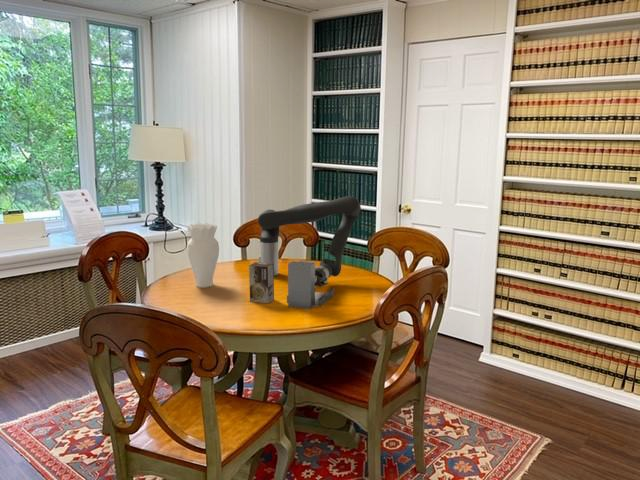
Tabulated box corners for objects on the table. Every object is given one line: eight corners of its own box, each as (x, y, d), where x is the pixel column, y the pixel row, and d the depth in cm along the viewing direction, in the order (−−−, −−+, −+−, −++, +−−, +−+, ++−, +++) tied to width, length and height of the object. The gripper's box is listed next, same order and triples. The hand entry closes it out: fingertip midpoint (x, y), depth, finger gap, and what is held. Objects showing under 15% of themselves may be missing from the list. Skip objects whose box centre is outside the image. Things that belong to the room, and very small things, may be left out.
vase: (219, 288, 249) (217, 227, 244) (187, 290, 247) (184, 227, 242) (220, 280, 263) (218, 222, 258) (189, 281, 261) (187, 222, 256)
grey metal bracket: (282, 305, 225) (282, 263, 221) (302, 291, 246) (302, 252, 243) (316, 310, 220) (317, 266, 216) (334, 294, 241) (334, 254, 238)
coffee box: (274, 299, 234) (274, 263, 231) (268, 303, 228) (268, 266, 225) (255, 297, 237) (255, 261, 234) (249, 301, 231) (248, 264, 228)
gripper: (303, 266, 244) (289, 275, 228) (333, 269, 239) (320, 278, 224) (303, 282, 245) (289, 292, 230) (333, 285, 241) (320, 295, 225)
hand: (304, 285), depth 227 cm, fingers closed on copper bar, 4 cm apart
